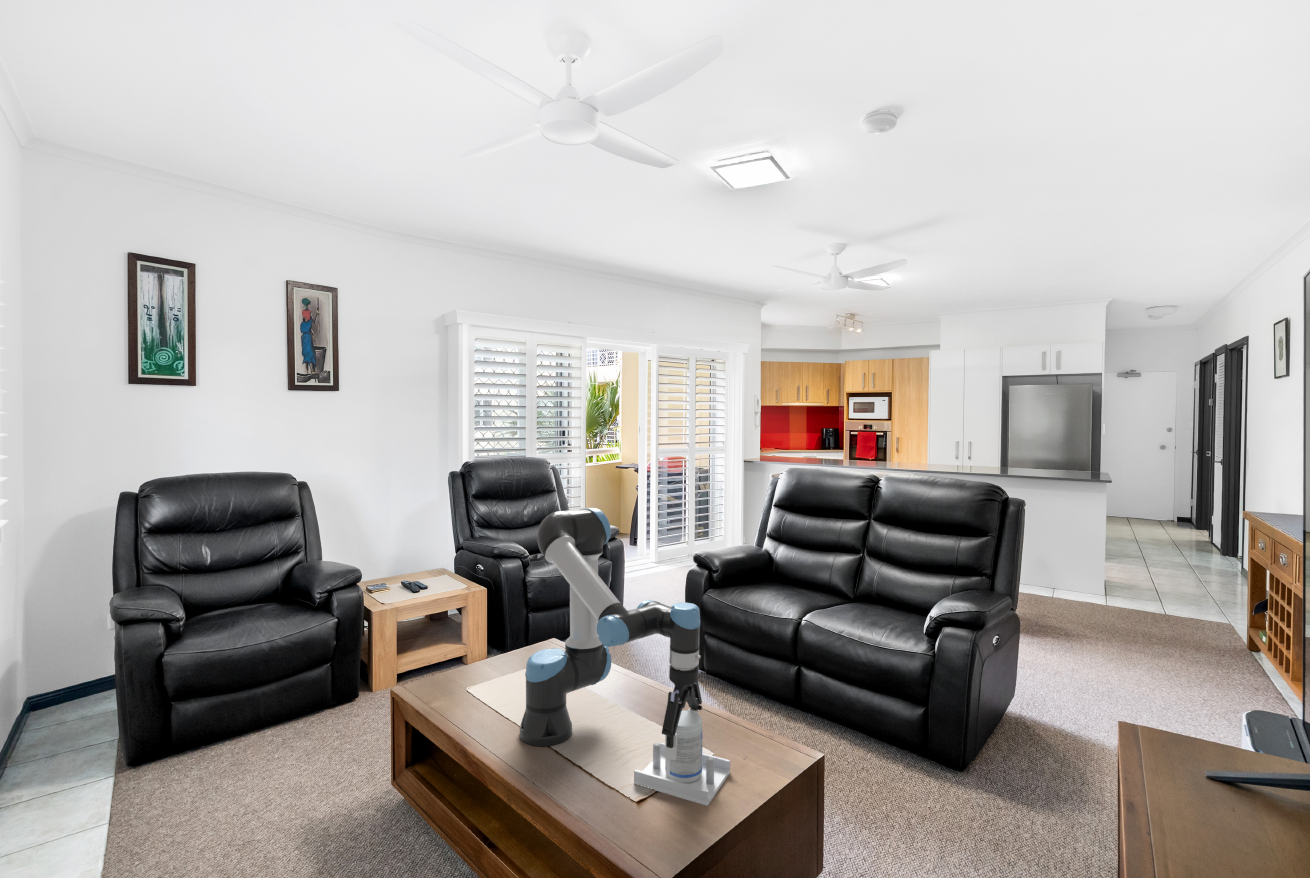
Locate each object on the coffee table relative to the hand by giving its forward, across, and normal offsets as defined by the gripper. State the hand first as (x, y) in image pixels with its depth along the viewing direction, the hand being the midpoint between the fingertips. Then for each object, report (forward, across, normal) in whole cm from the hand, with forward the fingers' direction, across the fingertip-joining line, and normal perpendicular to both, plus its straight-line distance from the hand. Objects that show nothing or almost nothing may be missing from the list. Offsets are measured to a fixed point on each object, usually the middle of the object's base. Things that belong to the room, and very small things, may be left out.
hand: (682, 746), depth 166 cm
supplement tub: (+7, 0, 0) cm, 8 cm away
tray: (+8, 0, 0) cm, 8 cm away
